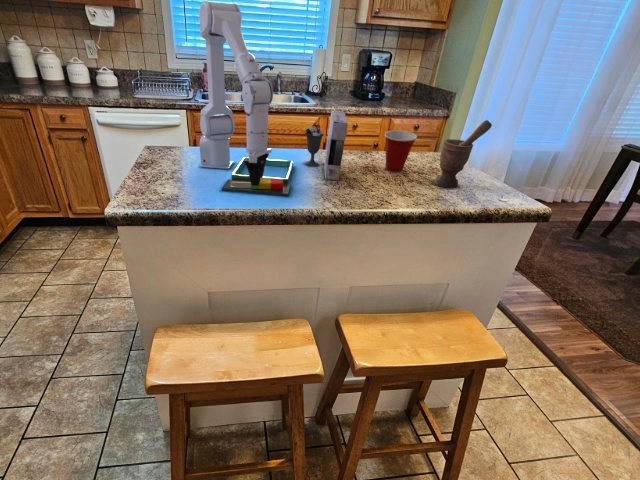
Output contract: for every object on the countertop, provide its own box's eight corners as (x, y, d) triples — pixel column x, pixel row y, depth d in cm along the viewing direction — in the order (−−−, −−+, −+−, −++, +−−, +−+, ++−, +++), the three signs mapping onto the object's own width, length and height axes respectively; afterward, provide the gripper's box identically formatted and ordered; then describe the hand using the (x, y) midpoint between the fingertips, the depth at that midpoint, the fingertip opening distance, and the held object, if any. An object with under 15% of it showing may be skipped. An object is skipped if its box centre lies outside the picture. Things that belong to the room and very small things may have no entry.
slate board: (221, 191, 109) (221, 188, 109) (228, 182, 116) (227, 179, 115) (287, 196, 108) (287, 193, 108) (290, 187, 115) (290, 184, 114)
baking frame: (231, 181, 117) (231, 174, 115) (243, 163, 133) (243, 157, 132) (287, 185, 116) (287, 179, 115) (292, 166, 132) (293, 161, 131)
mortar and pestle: (461, 180, 129) (481, 116, 117) (473, 189, 122) (496, 121, 110) (428, 180, 128) (446, 114, 116) (439, 188, 121) (459, 120, 109)
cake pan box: (340, 182, 121) (348, 121, 111) (324, 181, 121) (331, 120, 111) (337, 164, 137) (344, 110, 126) (323, 163, 137) (329, 109, 127)
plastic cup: (375, 171, 133) (382, 134, 126) (381, 163, 141) (387, 128, 134) (406, 176, 130) (415, 139, 123) (411, 168, 138) (419, 132, 131)
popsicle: (283, 190, 110) (283, 183, 109) (230, 188, 109) (230, 182, 108) (282, 184, 114) (282, 177, 113) (232, 182, 113) (232, 176, 112)
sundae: (321, 162, 138) (325, 117, 130) (320, 167, 133) (325, 121, 124) (303, 160, 139) (306, 115, 130) (302, 166, 133) (305, 119, 125)
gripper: (268, 138, 97) (267, 191, 105) (275, 127, 109) (273, 175, 116) (240, 136, 97) (241, 189, 105) (250, 125, 109) (250, 173, 117)
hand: (256, 181), depth 111 cm, fingers closed on popsicle, 6 cm apart
